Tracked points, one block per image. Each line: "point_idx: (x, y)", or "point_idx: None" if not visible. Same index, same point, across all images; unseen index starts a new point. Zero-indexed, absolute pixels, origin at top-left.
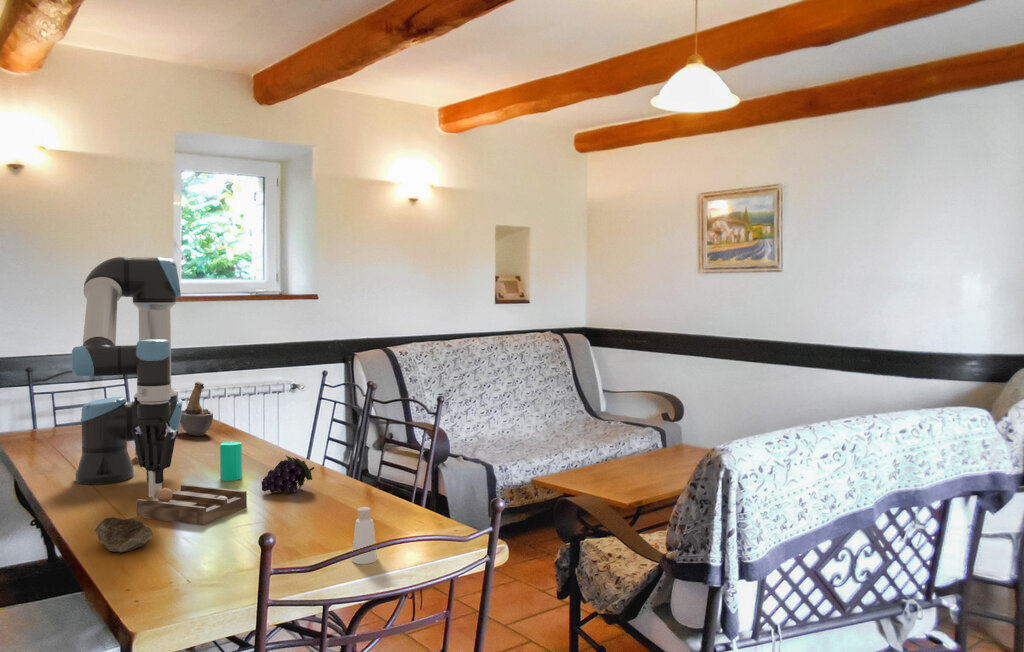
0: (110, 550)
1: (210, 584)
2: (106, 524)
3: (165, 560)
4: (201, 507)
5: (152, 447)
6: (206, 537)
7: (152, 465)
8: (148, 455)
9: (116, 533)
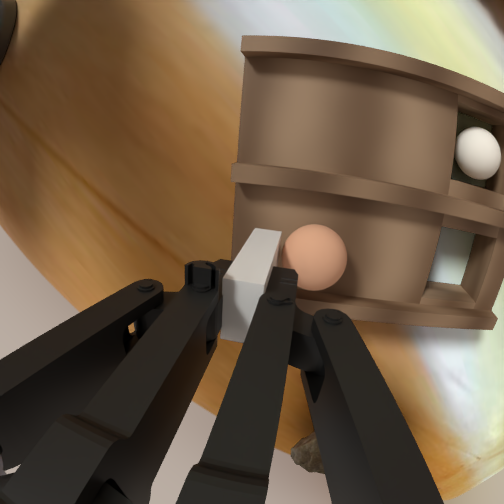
0: None
1: (497, 453)
2: (322, 472)
3: (444, 443)
4: (487, 325)
5: (160, 428)
6: (489, 361)
7: (209, 322)
8: (184, 405)
9: None
